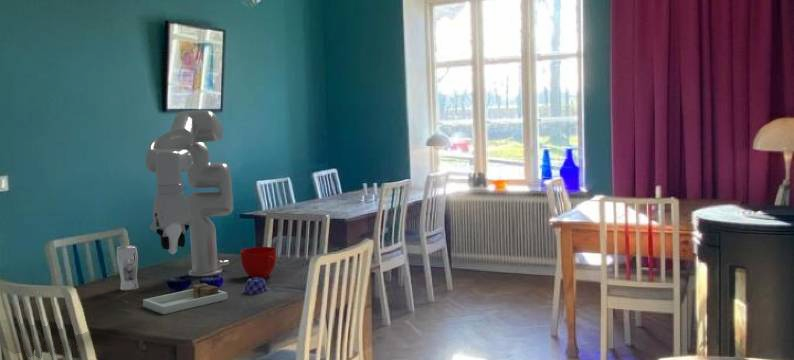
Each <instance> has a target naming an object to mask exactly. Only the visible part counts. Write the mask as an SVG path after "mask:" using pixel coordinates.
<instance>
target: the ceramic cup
mask: <svg viewBox="0 0 794 360" xmlns="http://www.w3.org/2000/svg"><path fill="white" fill-rule="evenodd" d="M276 257H277V250H276V248H275V247H272V246H271V247H270V246H259V247H258V246H256V247H249V248H244V249H241V250H240V260H241V265H242V267H243V269H244V272H245V273H246V274H247V275H248V276H249V277H250V278H258V277H260V278H264V279H265V278H267V277H269V275H270V274H271V273H272V271H273V270H274V268H275V264H276Z"/></svg>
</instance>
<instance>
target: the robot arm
mask: <svg viewBox="0 0 794 360" xmlns="http://www.w3.org/2000/svg"><path fill="white" fill-rule="evenodd" d="M172 121H173V122H172V124H171V127H170V130H169V131H167V132H165V133H164V134H162V135H160V136H159V137H156V138H155V139H154V140H152V141H151V142H150V145H149V146H148V149H147V151H146V155H145V167H146V168H147V170H148V171H149V172H151V173H154V174H155V176H156V177H155V180H156V191H157V192H156V195H154V197H153V205H152V206H153V209H152V212H153V213H152V222H151V224H150V225H149V229H150V230H151V231H154V232H155V233H156V234H157V235H158V236H159V237H160V242H161V243H160V245H161V247H162V249H163V250H168V249H169V239H168V237H166V235H167V234H166V232H165V229H166V227H168V226H170V225H171V224H173V223H178V224H180V225H181V227H182V232H181V234H180V236H179V239H178V245H177V247H182V248H184V247H185V244H186V237H185V234H187V231H188V229H189V236H190V238H189V240H190V253H191V254H190V255H191V269H190V270H188V276H191V277H199V278H200V277H211V276H215V275H219V274H222V272H223V268H222V267H223V266H228V265H229V264H230V261H229V259H224V260H222V259H221V260H220V259H218V249H217V248H218V247H217V231H216V229H217V228H216V226H215V224H214V222H213V221H212V220H211V218H209V217H218V216H219V217H222V216H229V215H231V214H232V212H233V210H234V197H233V185H232V184H233V183H232V174H231V168H230V166H229V165H228V164H227V163H226V162H211V161H210V151H209V149H208V146H207V145H206V144H205V143H214V142H215V143H216V142H219V141H220V140H222V138H223V134H224V133H223V132H224V130H223V126H222V123H221V120H220V119H219V118H218V116H217V115H216V114H215V113H214V112H213V111H211V110H207V109H202V110H199V109H198V110H183V111H179V112H178V113H177V114H175V116H174V119H173V120H172ZM182 172H183V173H184V172H186V174H187V182H188V185H189V187H191V188H193V189H218V190H212V191H210V190H209V191H194V192H191V193H190V194H188V195H187V196H185V193H184V190H186V189H187V186H186V185H185V184H183V180H182ZM158 227H159V228H158ZM162 228H163V231H162Z"/></svg>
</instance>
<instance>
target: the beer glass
mask: <svg viewBox="0 0 794 360" xmlns="http://www.w3.org/2000/svg"><path fill="white" fill-rule="evenodd" d="M138 260H139V256H138V249H137V246H136V245H133V244H132V245H122V246H118V247H116V263H117V269H118V272H119V276H120V287H119V288H120V291H125V292H126V291H133V290H137V289H139V283H138V279H137V278H138V276H137V275H138V266H139V265H138V263H139V261H138Z"/></svg>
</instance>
